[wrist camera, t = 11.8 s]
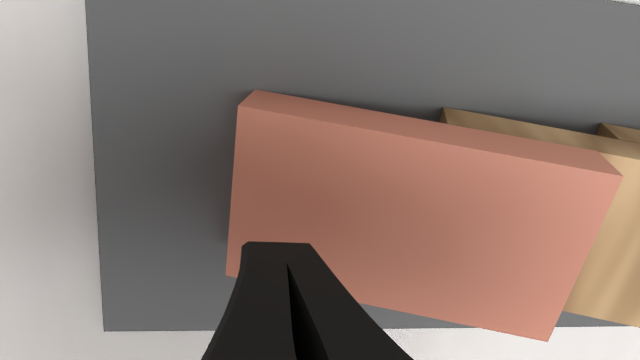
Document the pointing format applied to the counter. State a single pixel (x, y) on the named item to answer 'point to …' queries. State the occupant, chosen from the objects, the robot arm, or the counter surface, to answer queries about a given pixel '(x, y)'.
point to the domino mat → (317, 84)
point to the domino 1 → (420, 209)
